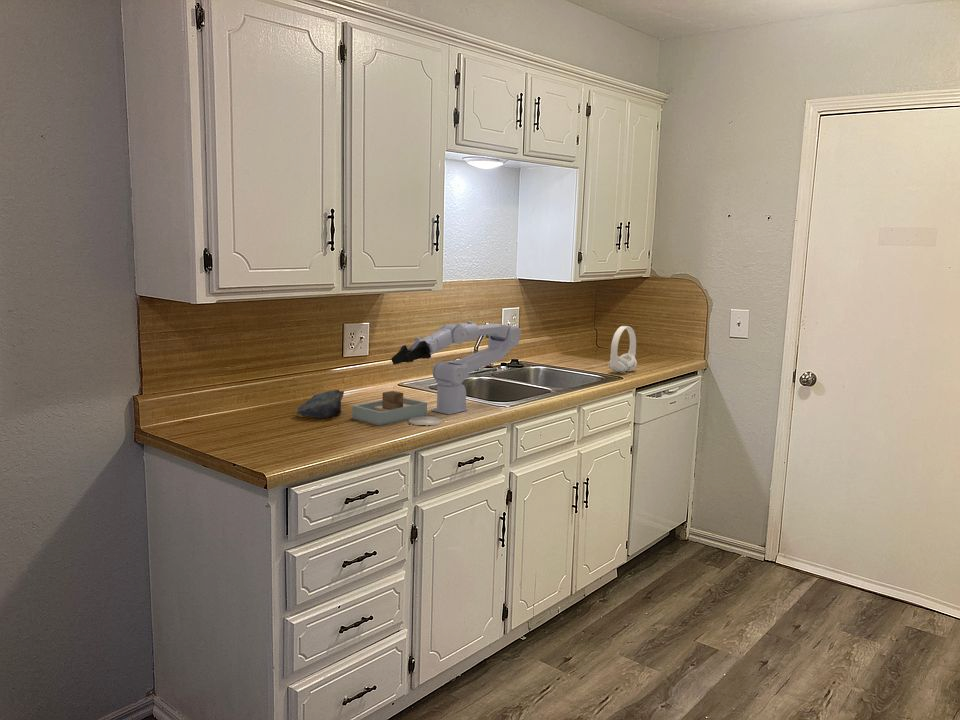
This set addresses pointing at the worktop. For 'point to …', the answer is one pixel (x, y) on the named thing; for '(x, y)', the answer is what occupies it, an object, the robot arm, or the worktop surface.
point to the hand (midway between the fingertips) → (400, 359)
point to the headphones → (625, 360)
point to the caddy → (388, 412)
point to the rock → (322, 405)
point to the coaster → (425, 420)
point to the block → (392, 400)
